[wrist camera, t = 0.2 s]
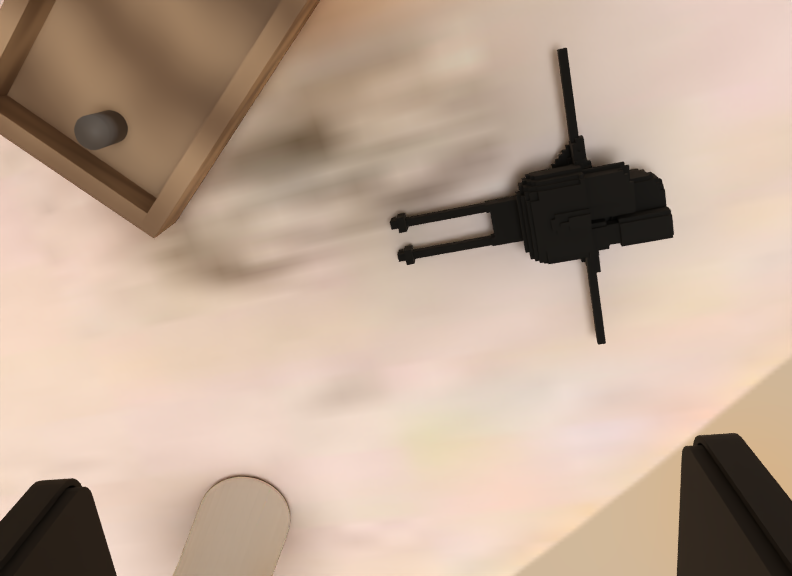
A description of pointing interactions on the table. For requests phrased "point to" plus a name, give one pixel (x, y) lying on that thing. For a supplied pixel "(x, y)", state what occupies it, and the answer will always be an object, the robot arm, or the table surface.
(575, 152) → the toy
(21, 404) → the table surface
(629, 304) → the table surface
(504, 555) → the table surface
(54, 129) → the brown wooden shallow tray
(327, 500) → the table surface
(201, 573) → the toy
